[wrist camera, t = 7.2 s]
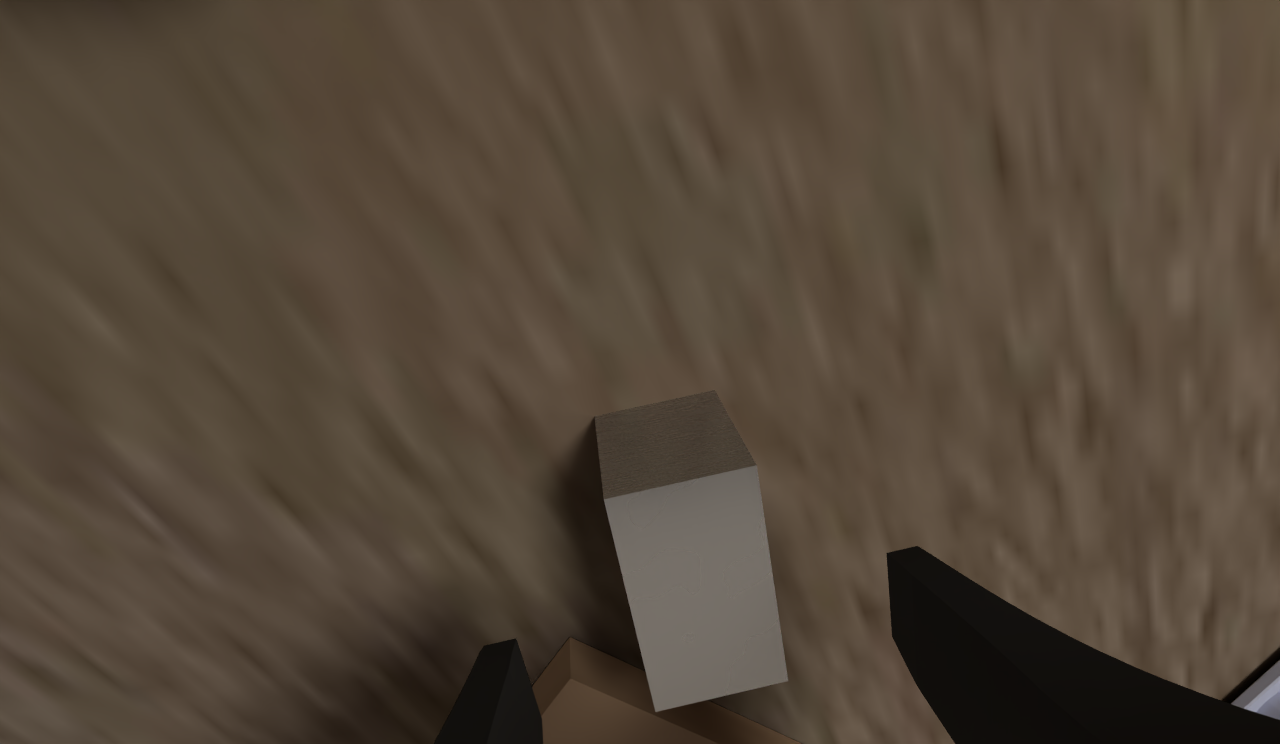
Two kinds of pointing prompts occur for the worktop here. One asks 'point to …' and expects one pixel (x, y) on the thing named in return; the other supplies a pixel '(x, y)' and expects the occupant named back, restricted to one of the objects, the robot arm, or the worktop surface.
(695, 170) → the worktop surface
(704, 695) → the link block
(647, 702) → the base board
